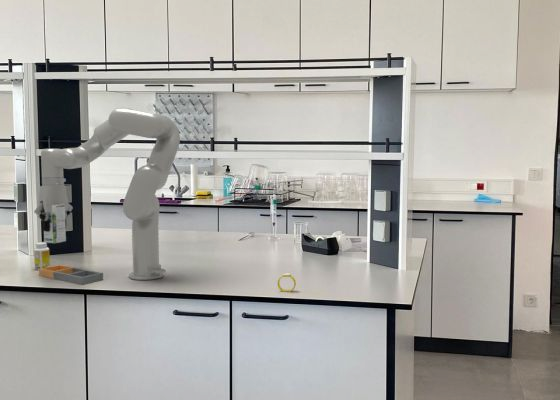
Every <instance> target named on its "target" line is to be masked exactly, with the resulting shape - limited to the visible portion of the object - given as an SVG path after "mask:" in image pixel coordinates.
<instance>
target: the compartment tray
mask: <svg viewBox="0 0 560 400" xmlns="http://www.w3.org/2000/svg"><path fill="white" fill-rule="evenodd" d="M38 275H39V276H40V277H45V278H50V279H54V280H58V281H59V280H60V281H63V282H68V283H71V284H76V285H86V284H87V285H88V284H91V283H96V282H99V281H103V280H104V273H103V272H100V271H94V270H90V269H85V268H79V267H75V266H70V265H69V266H68V265H63V264H57V265H52V266H51V265H50V267H45V268H40V269H39V270H38Z"/></svg>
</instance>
